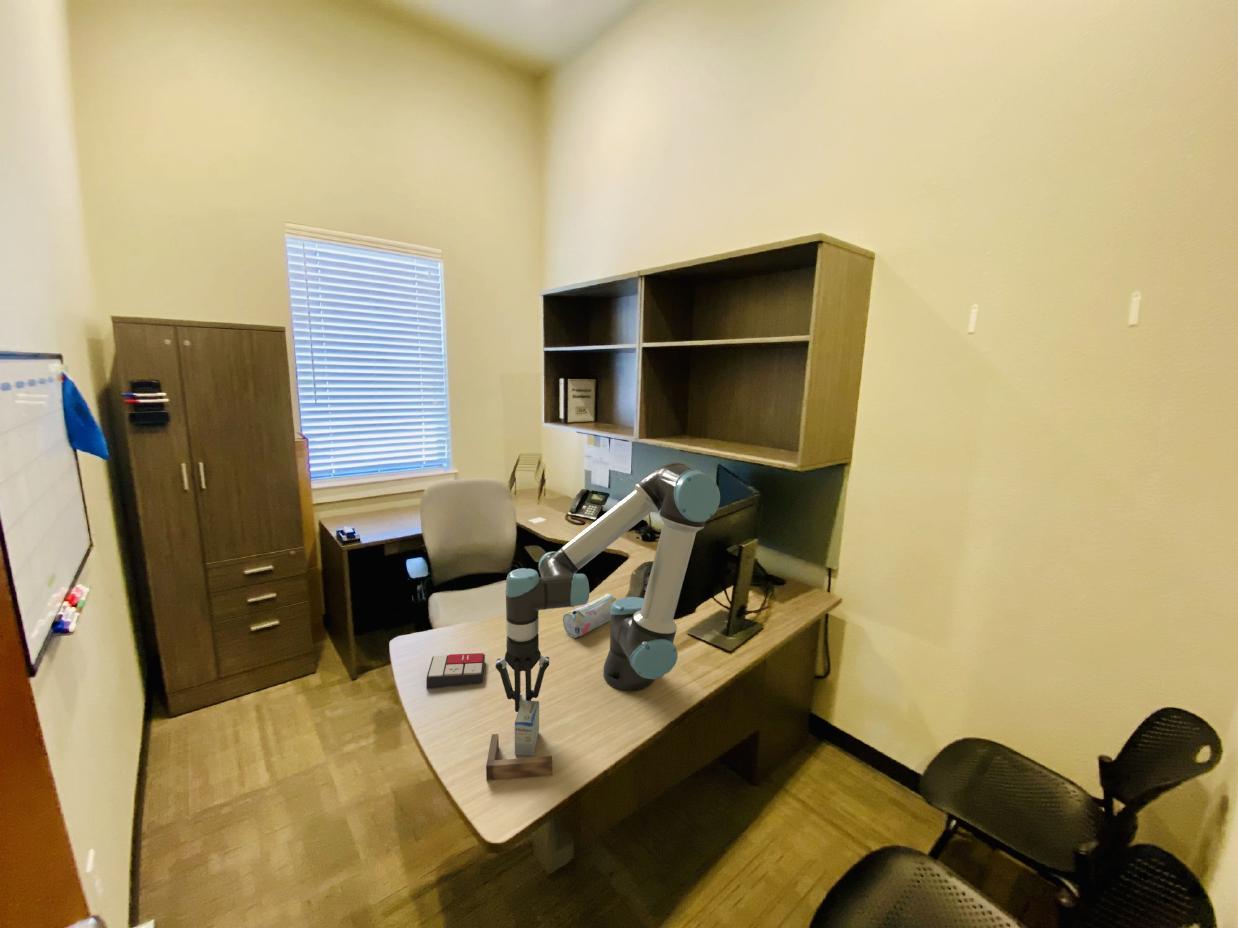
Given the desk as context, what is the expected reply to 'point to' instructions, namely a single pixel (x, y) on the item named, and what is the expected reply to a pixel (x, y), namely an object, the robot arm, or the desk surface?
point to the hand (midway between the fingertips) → (523, 721)
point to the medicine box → (526, 728)
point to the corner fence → (515, 765)
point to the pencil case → (588, 616)
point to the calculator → (455, 670)
